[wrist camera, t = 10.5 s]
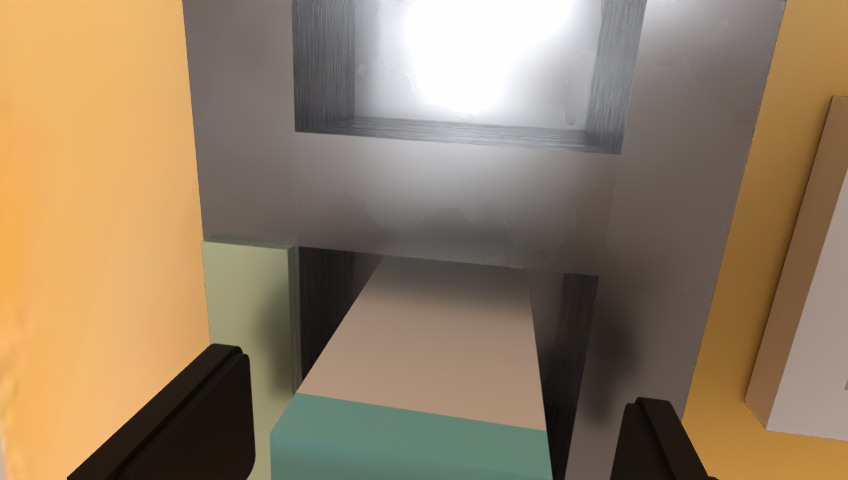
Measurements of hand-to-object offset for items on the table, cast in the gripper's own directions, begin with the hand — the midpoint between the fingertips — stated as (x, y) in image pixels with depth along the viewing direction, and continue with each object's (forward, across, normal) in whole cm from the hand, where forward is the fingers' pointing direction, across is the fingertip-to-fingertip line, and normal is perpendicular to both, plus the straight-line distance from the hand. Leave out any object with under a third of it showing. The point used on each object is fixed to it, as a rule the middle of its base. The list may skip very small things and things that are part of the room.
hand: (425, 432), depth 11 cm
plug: (+6, 0, 0) cm, 6 cm away
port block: (+8, 0, -4) cm, 9 cm away
